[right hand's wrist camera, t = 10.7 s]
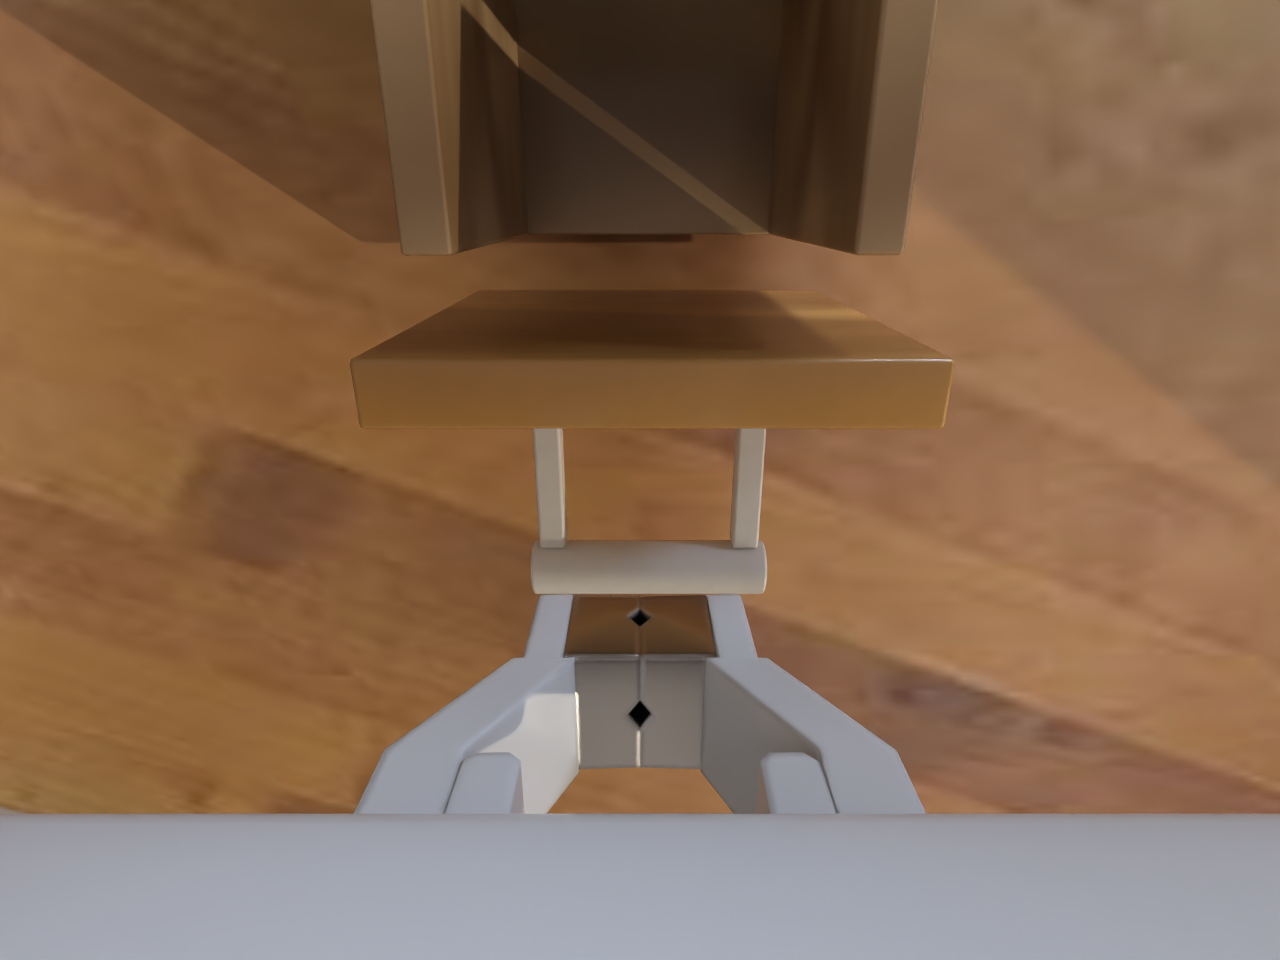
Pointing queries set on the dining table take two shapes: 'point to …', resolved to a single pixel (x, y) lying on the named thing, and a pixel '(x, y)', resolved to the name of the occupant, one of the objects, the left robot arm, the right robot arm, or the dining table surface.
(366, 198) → the dining table surface
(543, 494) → the drawer
